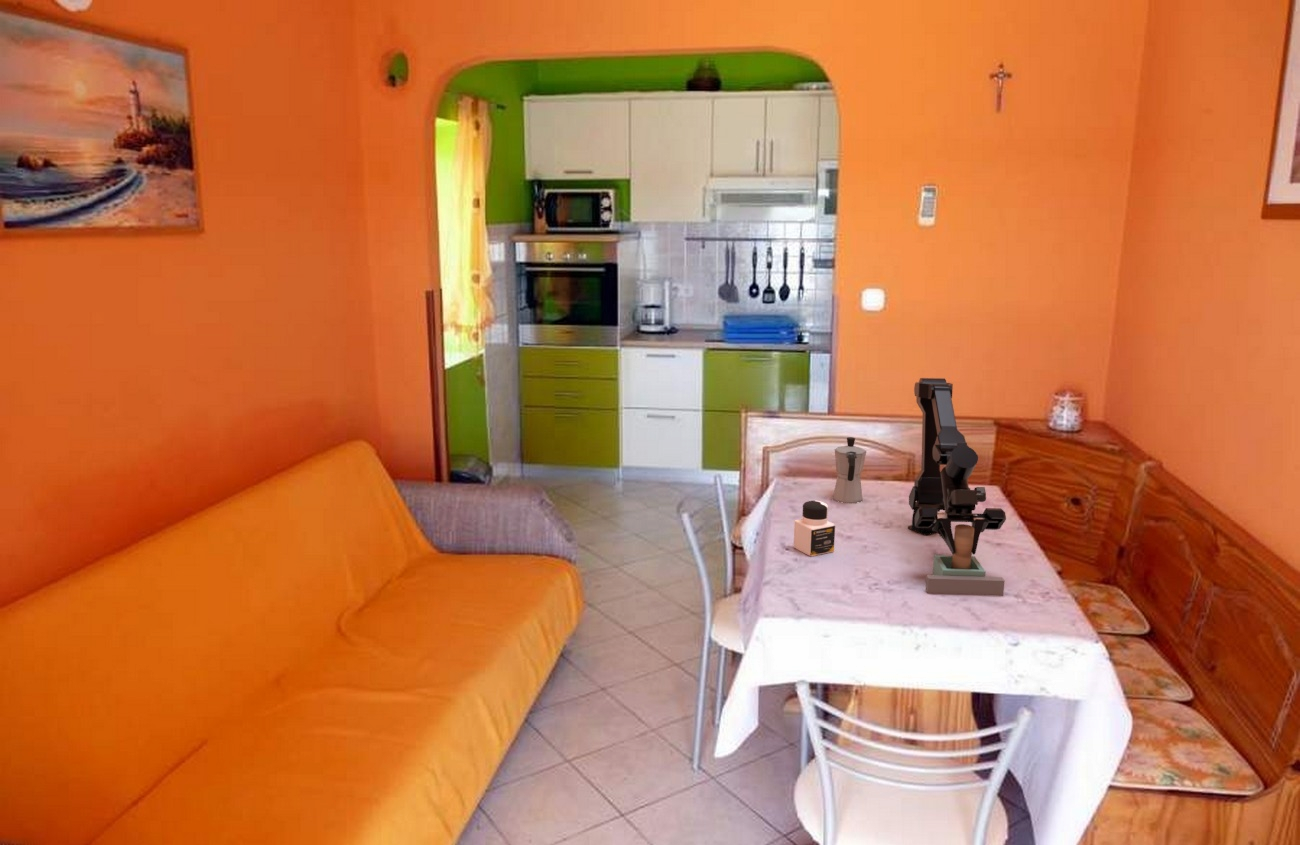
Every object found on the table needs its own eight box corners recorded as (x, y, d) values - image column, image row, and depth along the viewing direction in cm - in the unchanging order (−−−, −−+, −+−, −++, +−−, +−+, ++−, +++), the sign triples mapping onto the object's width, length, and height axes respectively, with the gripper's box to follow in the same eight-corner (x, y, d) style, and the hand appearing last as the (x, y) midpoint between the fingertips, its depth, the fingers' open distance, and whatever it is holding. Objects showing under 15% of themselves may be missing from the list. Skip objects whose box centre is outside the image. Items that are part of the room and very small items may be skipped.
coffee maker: (830, 491, 275) (834, 431, 271) (861, 492, 274) (865, 432, 269) (833, 507, 260) (836, 444, 256) (865, 509, 259) (869, 446, 255)
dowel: (952, 572, 211) (957, 523, 207) (970, 576, 209) (976, 526, 205) (948, 579, 207) (953, 529, 204) (966, 583, 205) (972, 532, 202)
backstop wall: (925, 589, 206) (926, 574, 205) (1000, 592, 205) (1001, 577, 204) (927, 593, 204) (928, 578, 203) (1003, 596, 203) (1004, 580, 202)
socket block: (932, 573, 214) (934, 555, 213) (972, 574, 214) (974, 556, 213) (941, 589, 206) (943, 570, 205) (983, 590, 205) (985, 571, 204)
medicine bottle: (810, 557, 224) (812, 509, 222) (792, 547, 231) (794, 500, 228) (834, 552, 228) (836, 504, 225) (816, 542, 234) (818, 496, 231)
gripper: (920, 471, 207) (927, 536, 199) (1007, 473, 205) (1018, 539, 197) (911, 494, 216) (917, 557, 208) (994, 496, 215) (1004, 560, 207)
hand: (964, 553), depth 205 cm, fingers closed on dowel, 4 cm apart
